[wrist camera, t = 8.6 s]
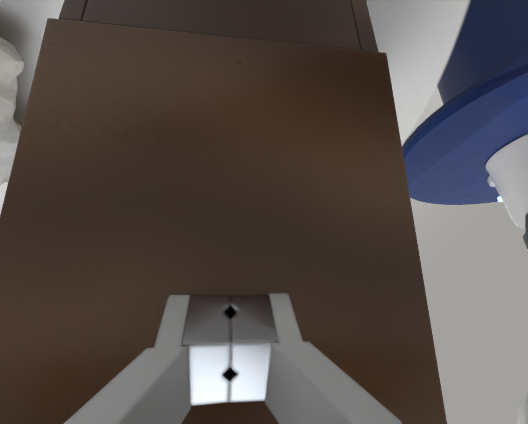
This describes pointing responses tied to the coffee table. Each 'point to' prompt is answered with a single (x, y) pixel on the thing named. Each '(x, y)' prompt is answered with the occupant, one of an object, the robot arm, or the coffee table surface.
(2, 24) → the coffee table surface
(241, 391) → the robot arm
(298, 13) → the chest
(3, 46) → the stone tool
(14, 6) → the coffee table surface
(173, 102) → the chest lid
